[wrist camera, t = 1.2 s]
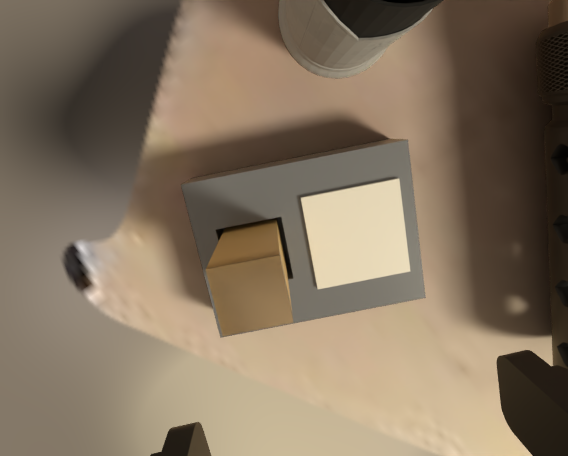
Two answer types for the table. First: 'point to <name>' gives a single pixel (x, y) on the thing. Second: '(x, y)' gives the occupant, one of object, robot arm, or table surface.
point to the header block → (324, 225)
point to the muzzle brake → (556, 166)
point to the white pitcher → (346, 31)
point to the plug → (250, 278)
